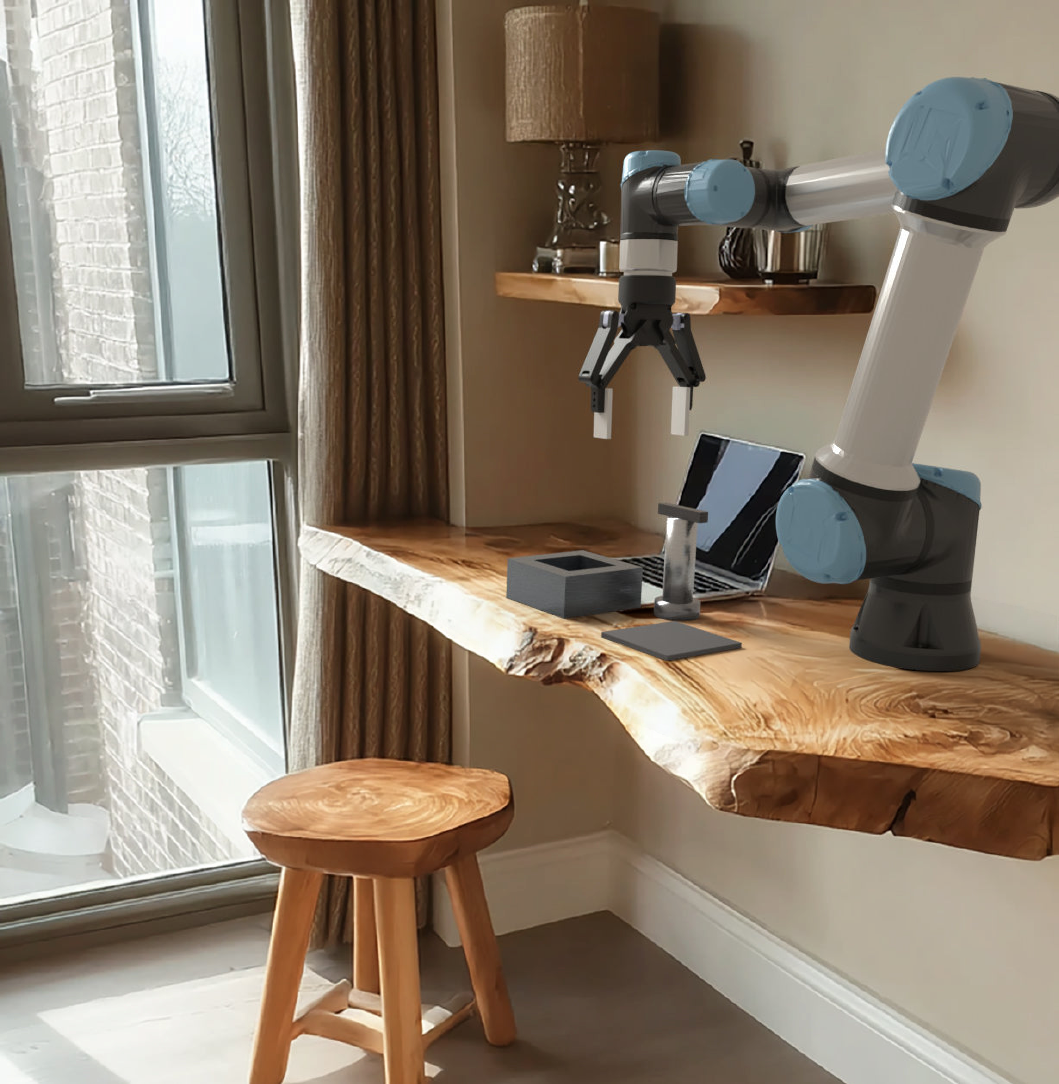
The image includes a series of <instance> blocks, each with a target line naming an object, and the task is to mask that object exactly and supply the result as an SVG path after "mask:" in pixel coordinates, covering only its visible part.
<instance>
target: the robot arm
mask: <svg viewBox="0 0 1059 1084" xmlns="http://www.w3.org/2000/svg"><path fill="white" fill-rule="evenodd" d="M885 142H886V143H885V148H884V149H878V150H873V151H872V150H871V151H869V152H868V151H867V152H863V153H856V154H853V155H847V156H841V157H837V158H832V159H827V160H822V161H816V162H812V163H806V164H801V165H799V166H792V167H787V168H781V169H768V168H759V167H750V166H745V165H744V164H743V163H742V162H740V161H739V160H735V159H718V158H713V159H712V158H711V159H708V160H705V161H699V162H694V163H686V164H681V161H682V160H681V159H682V158H681V157H680V155H679V154H678V153H676V152H673V151H669V150H668V151H667V150H659V149H658V150H655V149H654V150H653V149H652V150H651V149H650V150H638V151H632V152H629V153H628V154H627V155H626V156H625V158H624V160H623V167H622V176H621V183H620V189H621V191H620V193H621V194H620V195H621V197H620V198H621V199H620V237H619V238H620V242H619V266H618V267H619V271H620V272H623V275H621V276H620V277H619V278H618V289H617V290H618V295H617V296H618V297H617V298H618V299H617V301H618V303H619V304H620V311H618V310H602V311H601V312H600V314H599V323H598V328H597V331H596V333H595V335H594V338H593V341H592V343H591V346H590V347H589V351H588V353H587V355H586V358H585V360H584V362H583V364H582V367H581V370H580V371H579V374H578V376H577V377H578V381H579V382H580V383H584V384H585V386H586V387H587V388H588V387H589V388H590V390H591V391H590V392H591V393H590V410H591V413H593V414H594V415H593V438H595V439H596V438H597V439H603V440H611V439H612V421H613V420H612V419H613V395H614V394H613V393H614V392H613V388H611V387H610V388H609V387H608V385H609V384H610V383H611V381H612V380H613V378H614V377H615V375H616V374H617V372H618V371H619V370H620V368H621V366H622V365H623V364H624V362H625V360H626V359H627V358H628V357H629V355H630V353H631V352H632V351H633V350H634V349H636V348H637V347H653V348H654V349H656V350H657V351H658V353H659V354H660V356H661V357H662V359H663V361H664V364H665V365H666V366H667V368H668V370H669V371H670V373H671V375H672V377H673V378H674V380H675V381H676V383H677V385H678V386H672V398H671V421H670V422H671V423H670V424H671V425H670V426H671V427H670V435H676V436H684V437H686V436H689V428H690V424H689V423H690V411H692V408H693V405H694V404H693V402H694V401H693V400H694V388H698V387H699V386H700V384H701V383H704V382H705V381H706V380H707V376H706V372H705V369H704V367H703V364H702V360H701V358H700V357H701V356H700V355H699V354H700V353H699V350H698V347H697V345H696V340H695V339H694V336H693V331H692V323H691V314H690V313H689V312H674V313H673V312H672V306H673V305H674V304H675V303H676V297H677V296H676V295H677V294H676V293H677V291H676V290H677V279H675V276H673V273H675V272H678V271H677V269H678V241H679V235H678V233H679V231H678V230H679V227H682V226H684V227H686V226H687V227H688V226H711V227H714V226H715V227H724V228H725V227H727V228H739V229H752V230H753V229H754V230H764V231H774V232H777V233H784V234H787V233H801V232H805V231H807V230H809V229H810V228H811V227H813V226H814V225H820V224H828V223H834V222H843V221H851V220H858V219H864V218H865V219H866V218H873V217H878V216H879V217H880V216H886V215H892V214H894V215H895V216H896V218H897V220H898V222H899V226H900V228H899V231H898V234H897V237H896V241H895V243H894V244H895V245H894V247H893V250H892V254H891V258H890V260H889V262H888V263H889V264H888V267H887V270H886V273H885V276H884V279H883V283H882V285H881V289H880V293H879V296H878V299H877V302H876V306H875V309H874V311H873V314H872V315H873V316H872V318H871V322H870V326H869V327H868V331H867V335H866V338H865V342H864V344H863V346H862V347H863V348H862V351H861V354H860V357H859V360H858V364H857V367H856V370H855V373H854V377H853V380H852V384H851V386H850V389H849V392H848V396H847V400H846V402H845V405H844V408H843V412H842V414H841V418H840V420H839V421H840V422H839V425H838V428H837V431H836V435H835V438H834V439H833V441H832V442H829V443H828V444H826V445H824V446H822V447H820V448H818V449H817V450H816V452H815V453H814V454H815V456H814V459H813V461H812V464H811V467H810V471H809V475H808V477H807V478H803V479H799V480H798V481H796V482H795V483H794V484H793V485H791V486H789V487H787V489H785V491H784V492H783V494H782V495H781V496H780V499H779V501H778V504H777V506H776V513H775V530H776V536H777V540H778V544H779V545H780V546H781V548H782V552H783V553H782V554H783V555H784V557H785V558H786V560H787V562H788V563H789V564H790V566H791V567H792V568H793V569H794V570H795V571H796V572H797V573H798V574H800V576H802V577H804V578H805V579H807V580H809V581H811V582H815V583H818V584H839V585H846V584H847V585H848V584H851V583H853V582H855V581H861V580H868V579H869V586H868V590H867V592H866V594H865V597H864V598H863V601H862V604H861V605H860V608H859V611H858V612H857V615H856V619H855V620H854V623H853V625H852V627H851V629H850V632H849V633H850V635H849V644H848V646H849V647H848V648H849V650H850V652H852V653H853V654H854V655H856V656H857V657H859V658H862V659H864V660H867V661H869V662H873V663H876V664H880V665H883V666H888V667H889V666H890V667H893V668H899V669H905V670H913V669H915V671H925V672H954V671H962V670H963V671H964V670H968V669H971V668H975V667H976V666H978V665H979V664H980V660H981V650H982V642H981V639H980V637H979V631H978V625H977V621H976V616H975V612H974V608H973V602H972V596H971V594H972V592H971V591H972V584H973V583H972V582H973V577H974V574H973V573H974V568H975V558H976V557H975V556H976V547H977V537H978V528H979V517H980V511H981V509H982V507H983V506H982V502H981V491H982V489H981V487H982V485H981V480H980V478H979V477H978V475H976V474H975V473H974V472H971V471H967V470H962V469H955V468H954V469H953V468H948V467H942V466H935V465H927V464H921V463H916V462H915V463H914V462H913V460H914V457H915V454H916V451H917V448H918V447H919V446H918V445H919V442H920V439H921V438H922V437H921V436H922V434H923V430H924V428H925V426H926V425H925V424H926V422H927V419H928V416H929V413H930V411H931V407H932V404H933V401H934V397H935V395H936V392H937V389H938V386H939V385H940V384H939V383H940V380H941V377H942V374H943V371H944V369H945V366H946V363H947V360H948V357H949V354H950V350H951V347H952V345H953V342H954V338H955V336H956V333H957V330H958V328H959V323H960V322H961V318H962V315H963V313H964V309H965V306H966V303H967V300H968V298H969V294H970V291H971V289H972V285H973V283H974V280H975V277H976V273H977V270H978V268H979V265H980V262H981V259H982V256H983V253H984V250H985V248H986V247H987V246H988V245H989V244H991V243H992V242H994V241H996V240H998V239H1000V238H1001V237H1003V236H1005V235H1006V233H1007V231H1008V228H1009V224H1010V222H1011V218H1012V216H1013V213H1014V210H1015V209H1016V210H1017V209H1018V210H1019V209H1030V208H1037V207H1040V206H1043V205H1046V204H1048V203H1050V202H1052V201H1054V200H1056V199H1057V198H1058V197H1059V96H1057V95H1054V94H1052V93H1049V92H1046V91H1045V92H1044V91H1042V90H1041V91H1040V90H1034V89H1030V88H1024V87H1019V86H1016V85H1015V86H1014V85H1011V84H1006V83H1001V82H997V81H993V80H991V79H987V78H986V77H985V78H979V77H965V76H950V77H944V78H940V79H937V80H935V81H932V82H930V83H928V84H927V85H926V86H924V87H923V88H922V89H920V90H919V91H916V92H915V93H914V94H913V95H912V96H911V97H909V99H908V100H907V101H906V102H905V103H904V104H903V106H902V107H901V108H900V110H899V111H898V113H897V115H896V116H895V118H894V119H893V122H892V124H891V126H890V129H889V132H888V135H887V139H886V141H885ZM619 327H620V329H621V330H620V331H619V333H618V329H619ZM670 329H672V333H671V331H670ZM617 333H618V334H617ZM613 343H614V344H613Z"/></svg>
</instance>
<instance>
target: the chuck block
mask: <svg viewBox="0 0 1059 1084" xmlns="http://www.w3.org/2000/svg"><path fill="white" fill-rule="evenodd" d="M506 564H507V567H506V595H505V597H506V598H507V599H509V600H511V601H514V602H517V603H520V604H522V605H526V606H528V607H531V608H534V609H536V610H540V611H542V612H544V613H548V614H551V615H553V616H556V617H559V618H561V619H569V618H576V617H582V616H589V615H598V614H605V613H610V612H617V611H619V612H620V611H624V610H632V609H639V608H640V609H641V608H642V607H641V606H642V591H643V590H642V589H643V588H642V587H643V574H644V573H643V572H644V568H643V566H640V565H635V564H633V563H629V562H625V561H621V560H618V559H616V558H611V557H607V556H605V555H601V554H597V553H594V552H591V551H588V550H584V549H581V550H573V551H563V552H555V553H554V552H553V553H545V554H535V555H527V556H519V557H518V556H516V557H508V558H507V563H506Z"/></svg>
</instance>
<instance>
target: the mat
mask: <svg viewBox="0 0 1059 1084" xmlns="http://www.w3.org/2000/svg"><path fill="white" fill-rule="evenodd" d="M600 637H601V638H603V639H606V640H609V641H611V642H614V643H617V644H620V645H622V646H625V647H628V648H630V649H633V650H636V651H639V652H642V653H643V654H644V653H645V654H647V655H650V656H652V657H655V658H657V659H661V660H663V661H666V662H667V661H669V662H670V661H675V660H680V659H686V658H690V657H695V656H702V655H706V654H713V653H719V652H724V651H729V650H735V649H742V648H743V647H742V646H743V645H742V644H743V643H742V642H741V641H738V640H735V639H731V638H729V637H726V636H722V635H719V634H717V633H713V632H710V631H707V630H704V629H702V628H699V627H695V626H692V625H689V624H687V623H686V624H685V623H683V622H680V621H674V620H669V621H664V622H659V623H658V622H657V623H651V624H647V625H646V624H645V625H639V626H632V627H626V628H620V629H614V630H613V629H612V630H606V631H601V633H600Z"/></svg>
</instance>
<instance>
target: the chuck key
mask: <svg viewBox="0 0 1059 1084" xmlns="http://www.w3.org/2000/svg"><path fill="white" fill-rule="evenodd" d="M657 505H658V506H657V514H658V515H662V516H666V522H665V523H666V525H665V527H666V528H665V542H664V543H665V544H664V558H663V559H664V561H663V563H664V564H663V580H662V595H660V596H656V597H655V598H654V600H653V601H654V603H653V616H655V617H657V618H659V619H661V620H662V619H663V620H668V621H677V622H680V621H681V622H686V621H688V622H689V621H694V620H698V619H700V616H701V615H700V614H701V600H700V599H699V598H698V599H697V598H696V597H695V598H694V584H695V569H696V555H697V554H696V552H697V538H698V537H697V536H698V524H705V523H708V522H709V519H708V518H709V511H706V510H701V509H697V508H693V507H687V506H683V505H681V504H680V505H678V504H674V503H669V502H658V503H657Z"/></svg>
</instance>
